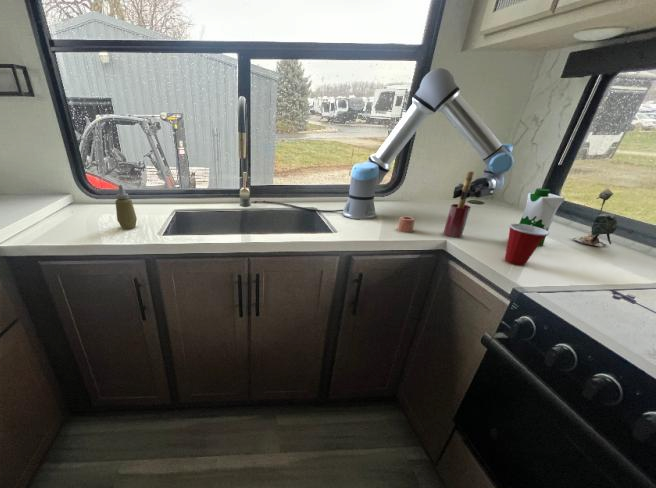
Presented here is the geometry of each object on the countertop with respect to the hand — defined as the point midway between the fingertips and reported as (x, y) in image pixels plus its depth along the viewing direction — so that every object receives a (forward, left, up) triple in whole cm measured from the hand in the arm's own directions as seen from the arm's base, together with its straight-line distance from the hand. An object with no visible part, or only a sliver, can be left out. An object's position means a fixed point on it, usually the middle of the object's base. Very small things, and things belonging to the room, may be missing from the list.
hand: (458, 195), depth 125 cm
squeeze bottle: (-128, -39, -17) cm, 135 cm away
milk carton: (+28, +7, -17) cm, 34 cm away
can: (+2, +5, -17) cm, 18 cm away
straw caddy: (-16, +4, -17) cm, 24 cm away
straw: (+2, +5, -11) cm, 12 cm away
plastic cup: (+20, -17, -17) cm, 32 cm away
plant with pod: (+50, +15, -17) cm, 55 cm away
